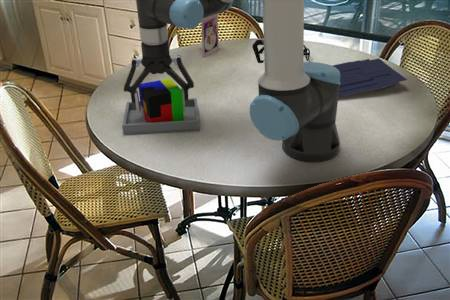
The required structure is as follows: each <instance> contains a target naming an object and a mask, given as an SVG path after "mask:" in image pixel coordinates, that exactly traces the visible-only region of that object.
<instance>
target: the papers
mask: <svg viewBox="0 0 450 300" xmlns="http://www.w3.org/2000/svg"><path fill="white" fill-rule="evenodd" d="M331 66H334V67H335V68H337V69H338V70H339V72H340V83H341V84H340V88H339V96H338V99H339V98H342V97H346V96H350V95H354V94H359V93H363V92H369V91H373V90H378V89H383V88H389V87H392V86H394V85H398V84H399V85H400V82H404V81H408V79H407V78H406V77H405V76H404V75H402V74H400V73H399V72H397V70H395V69H393V67H391V66H389V64H387V63H386V62H385V61H383V60H382V59H380V58H375V59H369V58H368V59H362V60H355V61H348V62H342V63H338V64H334V65H331Z"/></svg>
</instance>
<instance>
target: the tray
mask: <svg viewBox="0 0 450 300" xmlns="http://www.w3.org/2000/svg"><path fill="white" fill-rule="evenodd" d="M139 104H140V100H139ZM198 106H199V105H198V98H197V97H192V98H188V100H185V111H184V112H183V114H184V121H171V122H154V123H147V122H146V120H145V119H144V117H143V116H142V114H141V105H140V114H137V109H136V103H132V101H126V105H125V108H124V109H125V110H124V115H123V119H122V125H121V127H122V135H123V136H127V135H143V134H144V135H147V134H162V133H177V132H178V133H180V132H196V131H197V132H198V131H200V120H199V118H200V117H199V107H198Z"/></svg>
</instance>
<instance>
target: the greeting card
mask: <svg viewBox="0 0 450 300" xmlns="http://www.w3.org/2000/svg"><path fill="white" fill-rule="evenodd" d="M200 24H201V40H202V43H201V44H202V45H201V46H202V58H206V57H207V56H209V55H210V54H212V53H215V52H217V51H218V50H219V14H216V15H212V16H209V17H206V18H203V19H202V21H201V23H200Z"/></svg>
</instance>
